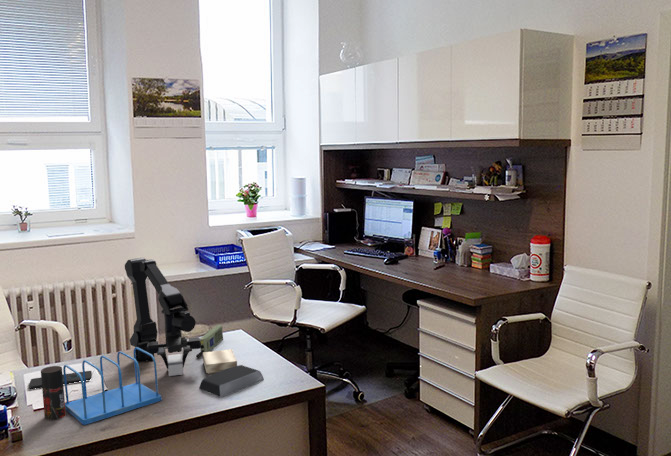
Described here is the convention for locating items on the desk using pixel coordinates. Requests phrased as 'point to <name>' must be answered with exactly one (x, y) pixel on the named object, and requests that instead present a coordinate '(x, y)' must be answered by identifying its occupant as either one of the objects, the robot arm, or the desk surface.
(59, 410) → the deodorant
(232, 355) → the cream rectangular block
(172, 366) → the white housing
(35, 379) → the smart home device
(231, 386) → the external hard drive
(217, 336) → the handheld radio
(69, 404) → the file sorter
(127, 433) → the desk surface
